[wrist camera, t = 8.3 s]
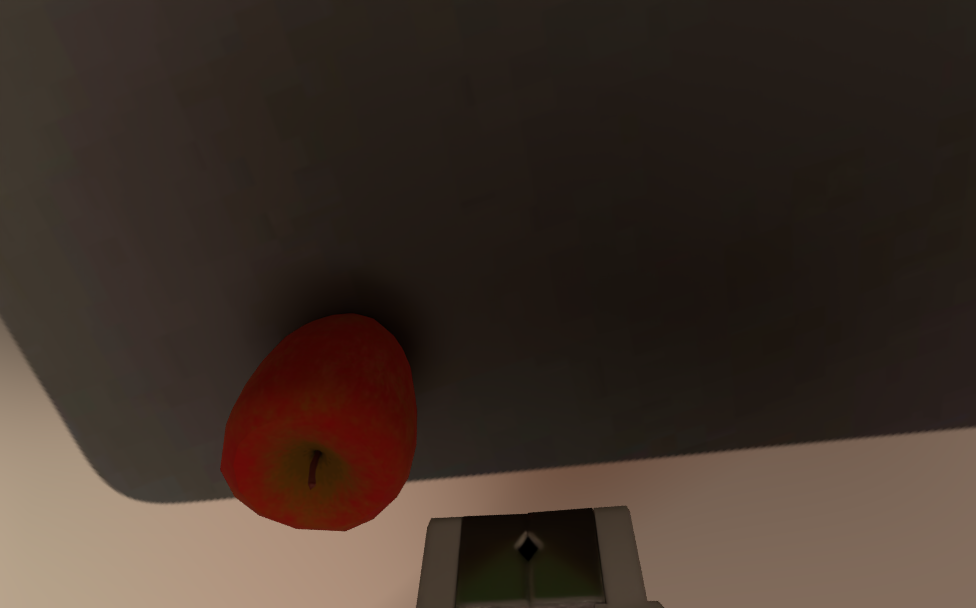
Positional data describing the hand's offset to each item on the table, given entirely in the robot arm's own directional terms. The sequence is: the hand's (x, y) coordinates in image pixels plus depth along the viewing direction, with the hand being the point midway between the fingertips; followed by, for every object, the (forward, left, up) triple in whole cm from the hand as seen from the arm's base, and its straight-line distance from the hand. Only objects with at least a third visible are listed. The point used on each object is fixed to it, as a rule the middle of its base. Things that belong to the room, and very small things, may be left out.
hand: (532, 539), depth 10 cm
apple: (-2, +9, -15) cm, 18 cm away
